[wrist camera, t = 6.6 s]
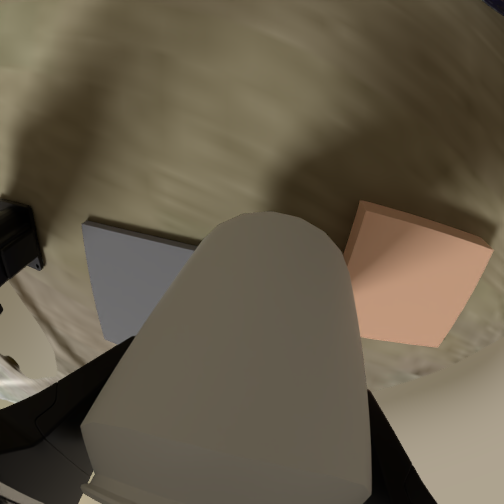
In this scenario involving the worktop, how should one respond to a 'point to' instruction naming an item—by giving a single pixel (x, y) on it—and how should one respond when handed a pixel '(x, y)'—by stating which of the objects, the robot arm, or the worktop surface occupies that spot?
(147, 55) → the worktop surface
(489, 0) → the storage jar
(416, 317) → the tile
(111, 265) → the mat
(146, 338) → the can
